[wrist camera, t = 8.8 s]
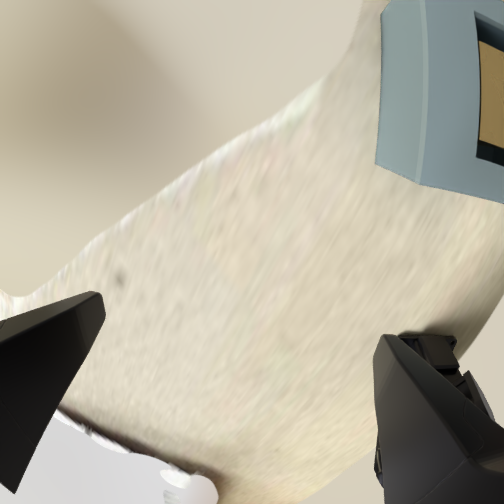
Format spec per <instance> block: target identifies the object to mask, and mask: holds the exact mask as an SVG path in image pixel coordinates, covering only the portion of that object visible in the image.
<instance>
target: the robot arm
mask: <svg viewBox="0 0 504 504" xmlns="http://www.w3.org/2000/svg"><path fill="white" fill-rule="evenodd" d="M105 317H106V312H105V307H104V303H103V297H102V295H101V294H100V293H98V292H94V291H88V292H85V293H82V294H79V295H76V296H73V297H70V298H67V299H64V300H61V301H58V302H55V303H52V304H49V305H46V306H43V307H40V308H37V309H34V310H31V311H28V312H25V313H22V314H19V315H16V316H14V317H11V318H8V319H7V320H6V319H5V320H2V321H0V483H1V484H2V485H3V486H4V487H6V488H7V489H8V490H9V491H11V492H12V493H13V494H15V493H16V491H17V489H18V487H19V484H20V482H21V480H22V477H23V475H24V473H25V471H26V468H27V466H28V464H29V462H30V460H31V458H32V456H33V454H34V452H35V449H36V447H37V445H38V443H39V441H40V439H41V437H42V435H43V433H44V431H45V429H46V428H47V426H48V424H49V422H50V420H51V418H52V416H53V414H54V413H55V411H56V409H57V407H58V405H59V403H60V402H61V400H62V398H63V396H64V394H65V393H66V391H67V389H68V387H69V386H70V384H71V382H72V380H73V379H74V377H75V375H76V374H77V372H78V370H79V369H80V367H81V365H82V364H83V362H84V360H85V359H86V357H87V355H88V353H89V351H90V349H91V347H92V345H93V343H94V341H95V339H96V337H97V335H98V333H99V331H100V329H101V327H102V325H103V323H104V321H105ZM456 343H457V340H456V338H455V337H454V336H423V335H422V336H410V335H400V336H398V337H397V336H396V335H393V334H383V335H382V336H381V337H380V340H379V343H378V345H377V348H376V351H375V353H374V356H373V373H374V400H375V410H376V417H377V425H378V436H377V445H376V455H375V463H374V471H375V473H376V477H377V478H378V480H379V482H380V484H381V486H382V487H383V488H384V501H385V504H504V428H502V427H501V426H500V425H499V424H497V423H496V422H495V419H494V416H493V413H492V410H491V408H490V406H489V404H488V402H487V400H486V398H485V396H484V394H483V392H482V390H481V389H480V387H479V386H478V384H477V382H476V381H475V379H474V378H473V376H472V375H471V373H470V371H469V370H468V371H467V372H466V373H465V374H463V376H462V375H461V373H460V371H459V367H460V366H459V363H458V361H457V360H456V358H455V356H454V354H453V352H452V351H453V349H454V347H455V345H456Z"/></svg>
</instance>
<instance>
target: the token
mask: <svg viewBox="0 0 504 504" xmlns="http://www.w3.org/2000/svg"><path fill="white" fill-rule="evenodd" d="M478 54H479V75H480V104H479V126H478V139H477V145H480V146H486V147H492V148H497V149H502V150H504V52H502V51H500V50H498V49H496V48H494V47H492V46H490V45H488V44H485V43H483V42H481V41H478Z"/></svg>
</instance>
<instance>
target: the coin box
mask: <svg viewBox="0 0 504 504" xmlns="http://www.w3.org/2000/svg"><path fill="white" fill-rule="evenodd" d="M478 41H481V42H483V43H485V44H488V45H490V46H492V47H494V48H496V49H498V50H500V51H502V52H504V2H503V1H502V0H391V1H390V3H389V4H388V5H387V7H386V8H385V9H384V11H383V12H382V13H381V93H380V112H379V126H378V138H377V149H376V159H375V164H376V165H379V166H381V167H383V168H385V169H388V170H390V171H392V172H394V173H396V174H398V175H401V176H403V177H405V178H407V179H409V180H411V181H413V182H415V183H417V184H419V185H424V186H429V187H434V188H439V189H444V190H448V191H453V192H457V193H462V194H466V195H470V196H475V197H479V198H483V199H487V200H491V201H495V202H498V203H502V204H504V150H502V149H497V148H492V147H486V146H480V145H477V139H478V126H479V104H480V75H479V54H478Z"/></svg>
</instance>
